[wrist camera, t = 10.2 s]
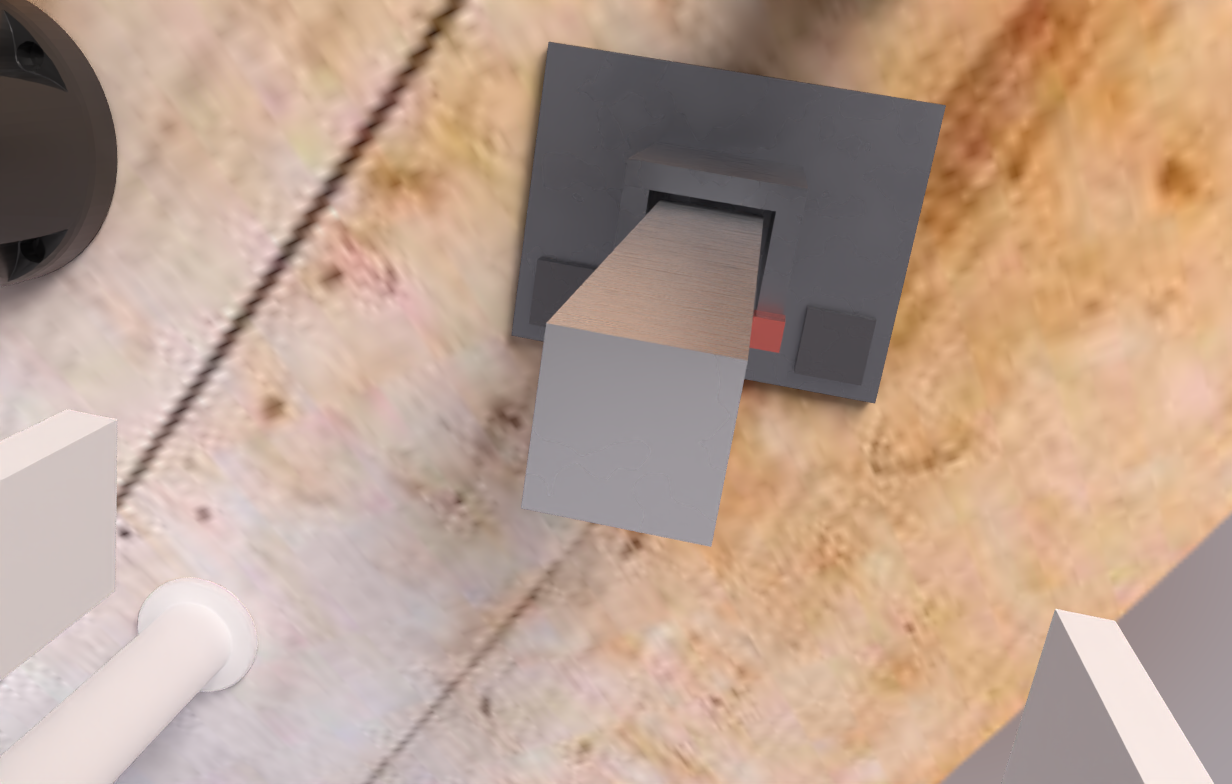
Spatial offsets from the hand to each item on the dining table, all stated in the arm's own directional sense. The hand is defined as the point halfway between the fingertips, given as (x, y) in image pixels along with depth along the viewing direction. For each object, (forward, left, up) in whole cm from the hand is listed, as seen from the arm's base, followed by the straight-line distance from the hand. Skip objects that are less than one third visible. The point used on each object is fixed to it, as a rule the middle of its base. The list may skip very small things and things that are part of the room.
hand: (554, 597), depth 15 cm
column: (0, -1, -29) cm, 29 cm away
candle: (-25, -28, -39) cm, 54 cm away
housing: (0, 0, -39) cm, 39 cm away
